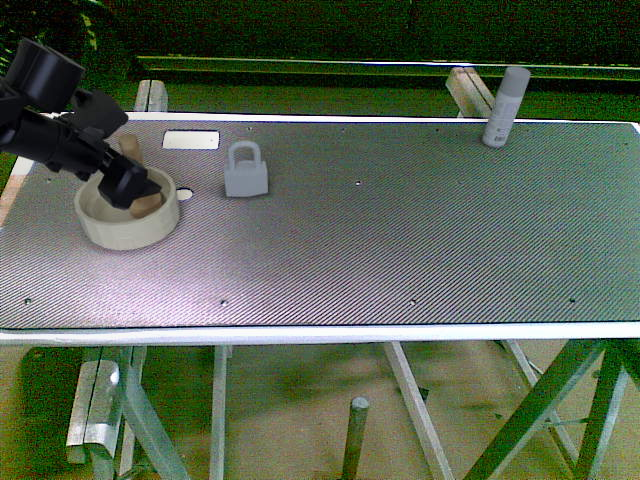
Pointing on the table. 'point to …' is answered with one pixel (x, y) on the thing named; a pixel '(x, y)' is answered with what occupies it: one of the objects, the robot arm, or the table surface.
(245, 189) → the padlock
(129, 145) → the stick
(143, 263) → the table surface
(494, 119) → the container
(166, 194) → the bowl
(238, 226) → the table surface
